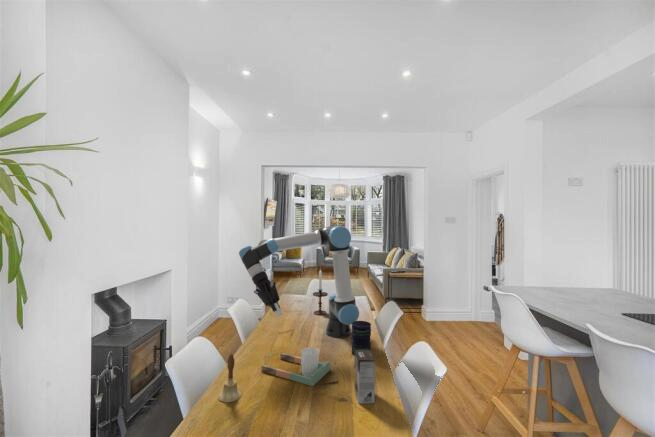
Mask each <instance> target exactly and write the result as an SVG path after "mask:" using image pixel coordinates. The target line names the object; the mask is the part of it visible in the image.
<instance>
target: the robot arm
mask: <svg viewBox="0 0 655 437" xmlns="http://www.w3.org/2000/svg"><path fill="white" fill-rule="evenodd" d="M351 241H352V234H351V232H350V230H349V229H348V228H347V227H344V226H343V225H330V226H326V227H323V228H318V229H316V230H315V231H311V232H305V233H299V234H292V235H286V236H282V237H276V238H270V239H263V240H261V241H259V242H258V245H257V246H255V247H253V246H251V245H247V246H244V247H242V248H241V249H240V250H239V252H238V255H239V257H240V259H241V262H242V264H243V265H244V268H245V269H246V271H247V273H248V275H249V277H250V278H251V280H252V282H253V284H254V285H255V290H254V291H253V293H254V294H255V295H257V297H258V298H259V299H260V300H261V301H262V303H263V304H264V305H265V306H266V307H269V308H271V310H272V312H274V313H275V315H276V317H277V318H280V317H282V316H283V315H284V314H283V312H282V310H281V306H280V304H279V301H280V296H279V293H278V290H277V287H276V282H272V281H271V280H270V279H269V276H268V274H267V273H266V271H265V269H264V267H263V265H262V264H261V261H262V260H264V259H266V258H267V257H269V256H271V255H273V254H275V253H276V252H281V251H287V250H288V251H289V250H293V249H299V248H303V247H309V246H310V247H311V246H315V245H318V246H325V245H326V246H328V251H329V253H331V255H332V256H331V257H332V265H333V275H334V283H335V284H334V285H335V292H336V293H334V294H330V295H329V298H328V322H327V324H326V327H325V334H326V335H327V336H329V337H332V338H345V337H349V336H350V335H352V322H355V321H358V319H359V317H360V310H359V307H358V306H357V304H356V296H354V294H353V291H352V283H351V282H352V281H351V274H350V272H351V271H350V264H349V254H348V253H349V250H350V249H351V248H350V243H351Z"/></svg>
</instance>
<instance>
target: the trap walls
mask: <svg viewBox="0 0 655 437" xmlns="http://www.w3.org/2000/svg"><path fill="white" fill-rule="evenodd" d="M294 356H295V357H294V362H293V363H295V364H298V363H299V364H298V365H301V356H296V355H294ZM291 372H292V371H288V370H284V369H280V368H277V370H276V375H275V376H277V377H280V378H282V379H287V380H290V373H291Z"/></svg>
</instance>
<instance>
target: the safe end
mask: <svg viewBox="0 0 655 437" xmlns="http://www.w3.org/2000/svg"><path fill="white" fill-rule="evenodd" d="M330 370H331V361H330V360H327V361H325V362H321V361H318V369H317V370H316V371H315V372H314V373H313V374H312V375H310V377H306V376H303V375H302V374H299V373H295V372H292V371H290V372H291V373H290V379H289V380H290V381H293V382H297V383H301V384H304V385H308V386H311V387H314V386H315V384H317V383H318V382H319V381H320V380H321V379H322V378H323V377H324V376H325V375H327V373H329V371H330Z"/></svg>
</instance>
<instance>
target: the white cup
mask: <svg viewBox="0 0 655 437" xmlns="http://www.w3.org/2000/svg"><path fill="white" fill-rule="evenodd" d="M319 355H320V354H319V349H318V348H316V347H304V348H302V349H301V350H300V357H301V364H300V367H301V375H303V376H306V377H310V375H312V374H313V373H314V372H315V371H316V370H317V369H318V362H319Z"/></svg>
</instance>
